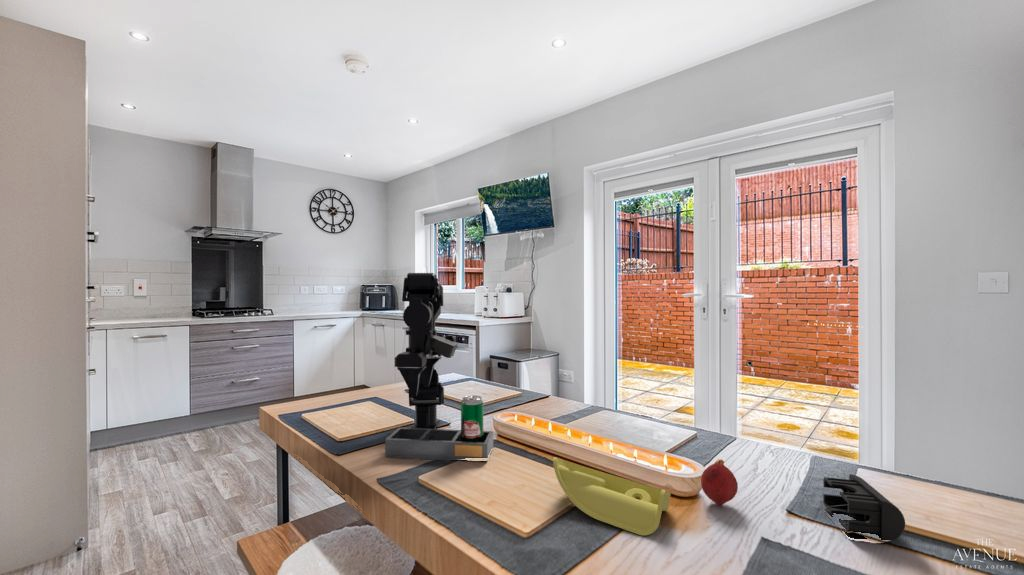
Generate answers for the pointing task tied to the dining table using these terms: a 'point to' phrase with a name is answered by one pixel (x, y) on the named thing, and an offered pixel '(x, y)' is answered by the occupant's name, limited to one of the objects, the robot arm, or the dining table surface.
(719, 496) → the onion
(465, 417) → the soda can
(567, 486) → the plastic component
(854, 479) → the end cap
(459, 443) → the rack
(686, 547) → the dining table surface
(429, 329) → the robot arm
